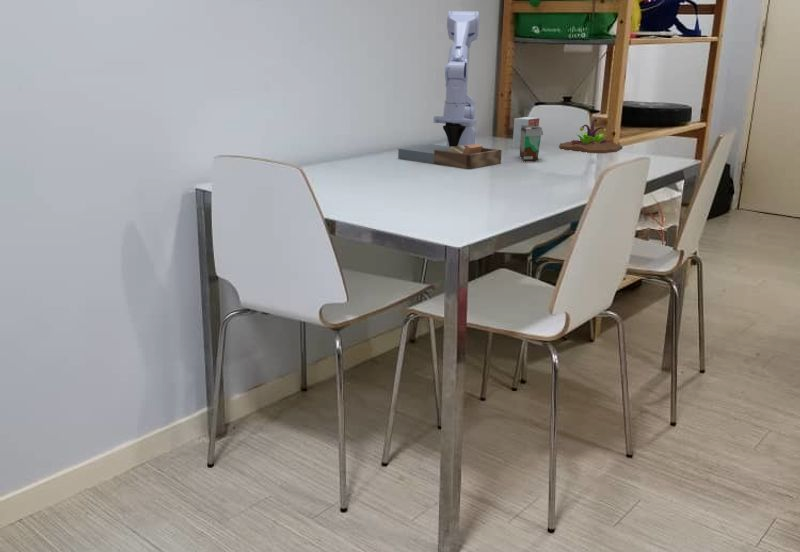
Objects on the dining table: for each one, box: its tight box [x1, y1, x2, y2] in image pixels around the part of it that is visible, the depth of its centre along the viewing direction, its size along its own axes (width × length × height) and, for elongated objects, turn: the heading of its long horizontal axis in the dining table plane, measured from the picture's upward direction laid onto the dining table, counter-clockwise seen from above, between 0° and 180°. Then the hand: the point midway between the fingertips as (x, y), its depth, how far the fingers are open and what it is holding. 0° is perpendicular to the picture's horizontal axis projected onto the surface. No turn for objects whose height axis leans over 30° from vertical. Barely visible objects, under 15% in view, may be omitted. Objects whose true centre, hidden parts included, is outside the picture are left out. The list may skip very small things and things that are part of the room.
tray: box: [433, 146, 502, 170], centre depth 236 cm, size 16×13×4 cm
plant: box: [558, 118, 623, 154], centre depth 269 cm, size 20×20×11 cm
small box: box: [512, 116, 540, 149], centre depth 270 cm, size 8×6×10 cm
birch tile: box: [449, 145, 465, 153], centre depth 237 cm, size 6×5×2 cm
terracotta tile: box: [463, 142, 484, 154], centre depth 235 cm, size 6×5×2 cm
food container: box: [519, 125, 544, 163], centre depth 246 cm, size 12×6×10 cm, turn 179°
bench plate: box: [397, 143, 450, 165], centre depth 245 cm, size 16×14×3 cm
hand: (453, 149), depth 239 cm, fingers closed
